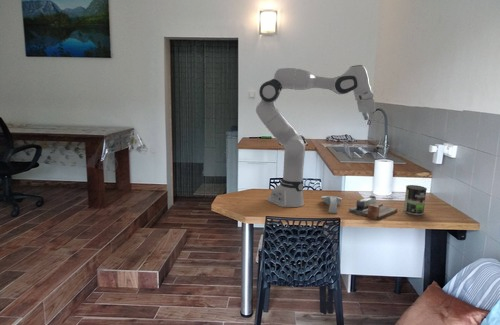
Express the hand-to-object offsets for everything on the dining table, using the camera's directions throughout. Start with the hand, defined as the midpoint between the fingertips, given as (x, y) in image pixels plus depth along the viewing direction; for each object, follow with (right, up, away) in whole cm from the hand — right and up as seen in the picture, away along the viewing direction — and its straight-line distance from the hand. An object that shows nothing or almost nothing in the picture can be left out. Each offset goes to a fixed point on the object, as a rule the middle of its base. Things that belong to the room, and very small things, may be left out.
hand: (369, 120), depth 202 cm
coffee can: (+26, -50, +5) cm, 57 cm away
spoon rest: (-18, -48, +10) cm, 52 cm away
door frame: (+3, -50, +3) cm, 50 cm away
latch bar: (0, -46, +5) cm, 46 cm away
